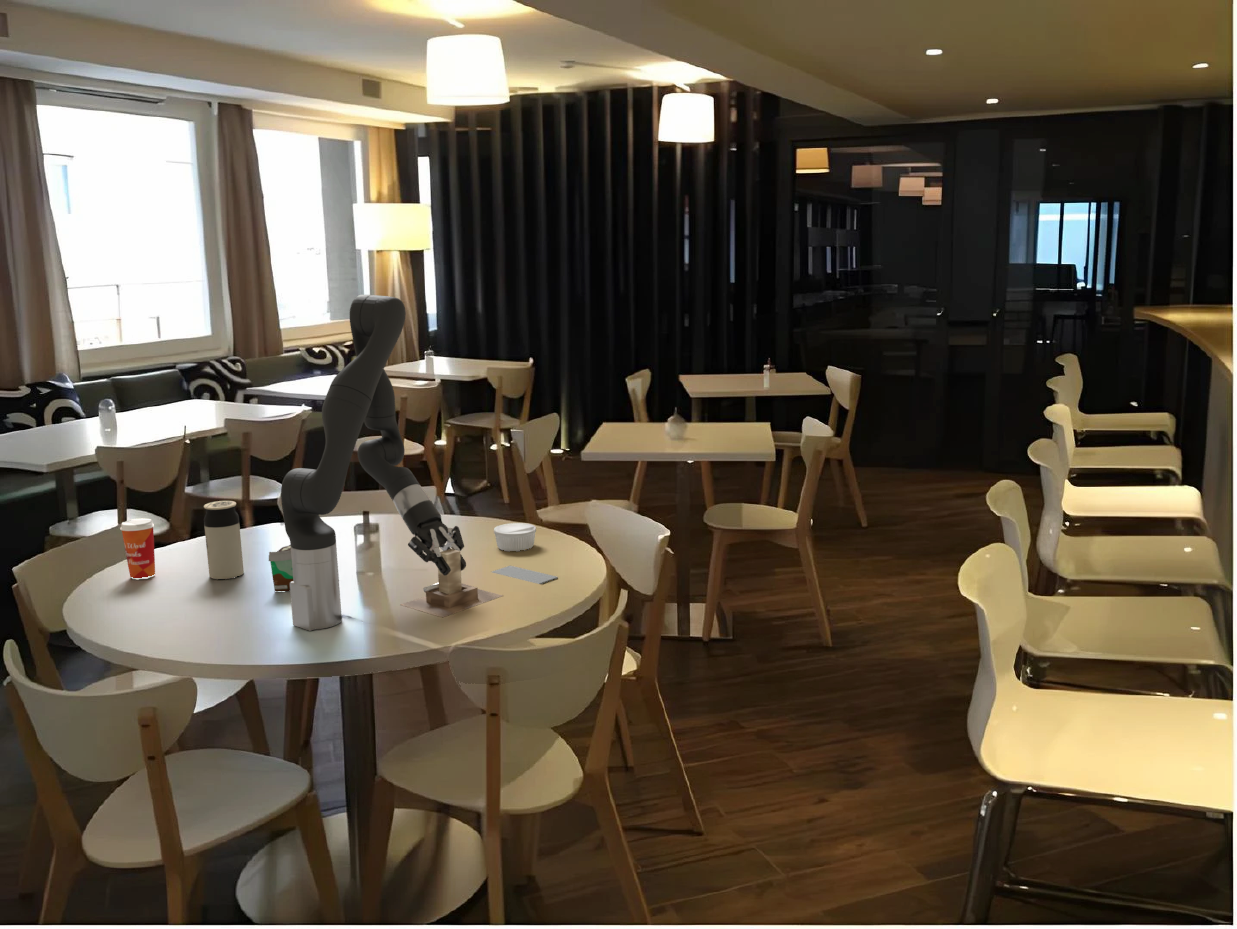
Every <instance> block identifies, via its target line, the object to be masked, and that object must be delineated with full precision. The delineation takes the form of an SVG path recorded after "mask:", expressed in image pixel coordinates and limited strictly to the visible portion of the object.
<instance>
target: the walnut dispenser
mask: <svg viewBox="0 0 1237 929" xmlns="http://www.w3.org/2000/svg"><path fill="white" fill-rule="evenodd" d="M461 584H462V590H461V591H458V592H455V593H452V594H446V593H442V592H439V582H437V583H434V584H431V585H427V586H424V587H423V588H422V589H423V592H424V593H425V596H422V597H419V598H416V599H413V600H410V601H407V602H404V603H401V604H400V606H403V607H405V608H409V609H412V610H416V611H418V612H423V613H426V614H429V615H433V616H436V617H439V618H446V617H448V616H451V615H454V614H457V613H459V612H462V611H465V610H468V609H471V608H473V607H476V606H478V605H482V604H485V603H487V602H490V601H492V600H496V599H498V598H501V597H504V595H503V594H499V593H494V592H491V591H487V590H484V589H480V588H478V587H477V586H473V585H469V584H465V583H462V582H461Z"/></svg>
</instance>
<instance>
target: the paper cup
mask: <svg viewBox="0 0 1237 929" xmlns="http://www.w3.org/2000/svg"><path fill="white" fill-rule="evenodd" d="M153 522H154V521H153V519H151V518H142V517H141V518H133V519H129V520H126V521H122V522H121V525H120V528H119V529H120V531H121V533H122V539H123V544H124V551H125V555H126V562H127V567H128V571H129V572H128V574H129V577H133V578H142V577H148V576H152V575H154V574H155V575H156V559H155V538H154V536H155V535H154V534H155V533H154V527H155V524H154V523H153Z"/></svg>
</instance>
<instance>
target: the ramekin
mask: <svg viewBox="0 0 1237 929" xmlns="http://www.w3.org/2000/svg"><path fill="white" fill-rule="evenodd" d="M536 533H537V527H536V525H534V524H532V523H527V522H526V523H525V522H512V523H509V522H508V523H504V524H500V525H496V526H495V527H494V529H493V534H494V537H495V542H496V546H497V548H498V549H499V550H500V551H503V550H504V552H510V551H516V552H521V551H520V550H524V551H526V550H525V549H528V550H530V549H532V547H533V546H534V544H535V538H536ZM529 548H530V549H529Z"/></svg>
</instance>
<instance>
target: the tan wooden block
mask: <svg viewBox="0 0 1237 929" xmlns="http://www.w3.org/2000/svg"><path fill="white" fill-rule="evenodd" d="M440 553H441V557H443V558H444V560H445V561H446V563H447V564H448V565H449V567H450V569H451V571H450V572H449V574H448V575H445V576H444V575H443V574H442V573H441V572H440V571H439V569H438V568H437V578H438V583H439V592H442V593H446V594H452V593H455V592H458V591H461V590H462V584H463V583H462V571H461V564H460V560H461V557H460V554H461V551H458V550H453V549H452V548H451V549H449V550H445V551H443V550H441V551H440ZM461 583H462V584H461Z"/></svg>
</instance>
